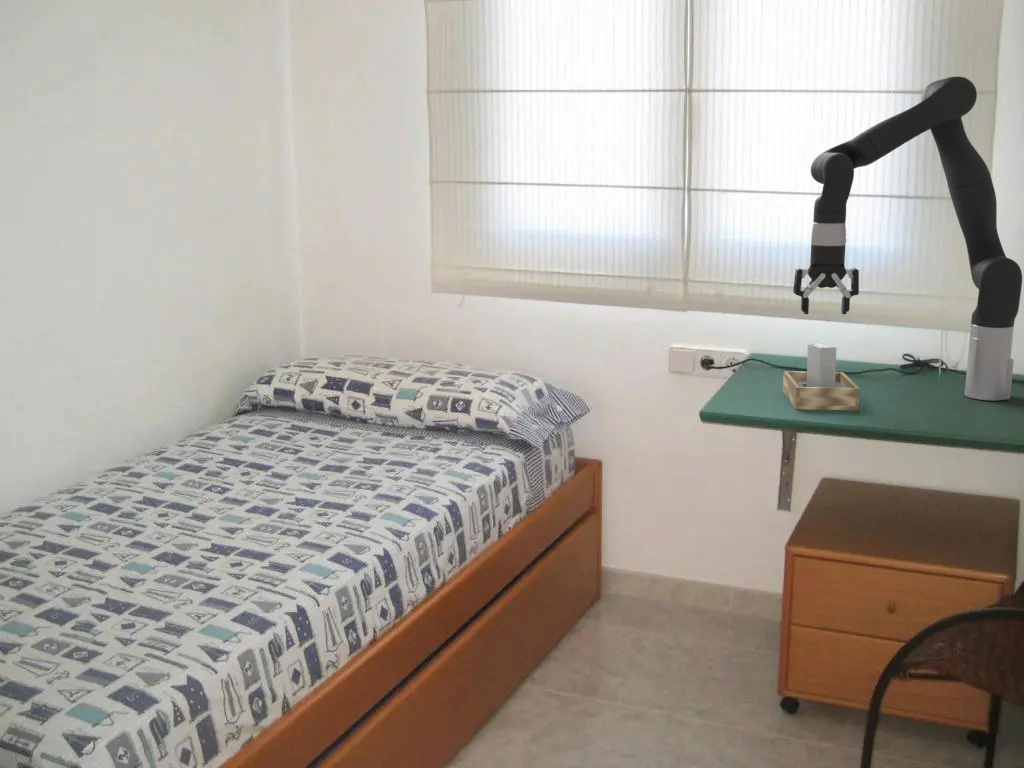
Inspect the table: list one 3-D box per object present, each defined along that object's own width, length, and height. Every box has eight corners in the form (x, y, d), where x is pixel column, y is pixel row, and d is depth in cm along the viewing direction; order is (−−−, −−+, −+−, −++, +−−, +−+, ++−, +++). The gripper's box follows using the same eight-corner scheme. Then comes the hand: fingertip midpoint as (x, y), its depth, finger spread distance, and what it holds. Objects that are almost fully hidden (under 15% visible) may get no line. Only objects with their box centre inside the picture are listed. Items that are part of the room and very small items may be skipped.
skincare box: (835, 398, 258) (838, 347, 256) (818, 399, 257) (821, 348, 255) (821, 392, 264) (824, 342, 262) (804, 394, 263) (807, 343, 260)
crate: (841, 392, 269) (842, 372, 268) (858, 410, 252) (860, 388, 250) (782, 391, 270) (783, 371, 269) (795, 409, 253) (796, 387, 251)
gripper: (856, 241, 256) (852, 311, 259) (793, 241, 257) (790, 311, 260) (864, 244, 249) (860, 316, 252) (799, 244, 250) (795, 316, 253)
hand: (824, 313), depth 256 cm, fingers open, 8 cm apart
